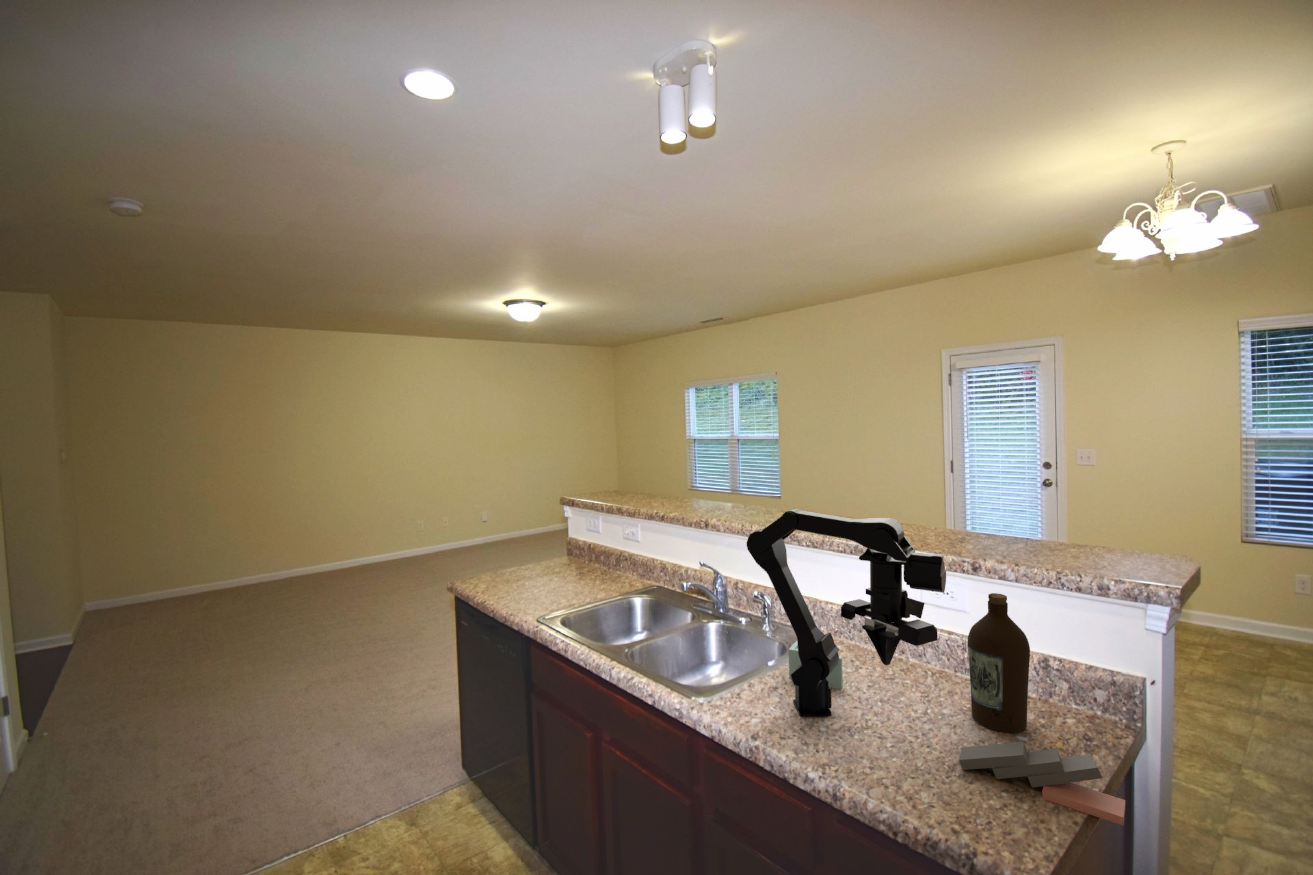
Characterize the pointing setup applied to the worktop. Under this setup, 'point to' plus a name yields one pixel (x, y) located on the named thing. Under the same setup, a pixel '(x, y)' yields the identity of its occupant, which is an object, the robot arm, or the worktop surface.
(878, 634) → the robot arm
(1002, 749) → the domino
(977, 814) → the worktop surface
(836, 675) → the right angle wall
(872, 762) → the worktop surface
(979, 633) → the olive oil
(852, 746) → the worktop surface
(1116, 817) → the domino
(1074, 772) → the domino
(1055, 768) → the domino
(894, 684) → the worktop surface
